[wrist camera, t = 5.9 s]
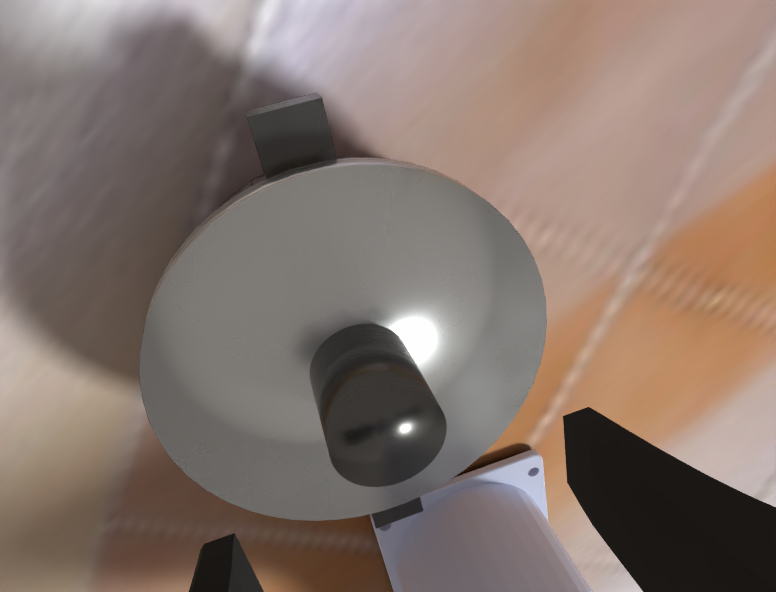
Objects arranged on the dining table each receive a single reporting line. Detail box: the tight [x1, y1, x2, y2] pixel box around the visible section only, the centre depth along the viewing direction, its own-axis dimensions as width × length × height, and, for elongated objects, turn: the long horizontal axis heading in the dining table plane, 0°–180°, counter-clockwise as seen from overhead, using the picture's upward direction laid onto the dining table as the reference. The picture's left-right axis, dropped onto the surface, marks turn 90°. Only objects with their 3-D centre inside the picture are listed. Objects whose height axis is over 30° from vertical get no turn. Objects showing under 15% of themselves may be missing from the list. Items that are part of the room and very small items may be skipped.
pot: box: [221, 93, 423, 528], centre depth 19 cm, size 15×10×4 cm
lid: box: [139, 157, 547, 521], centre depth 15 cm, size 11×11×5 cm
